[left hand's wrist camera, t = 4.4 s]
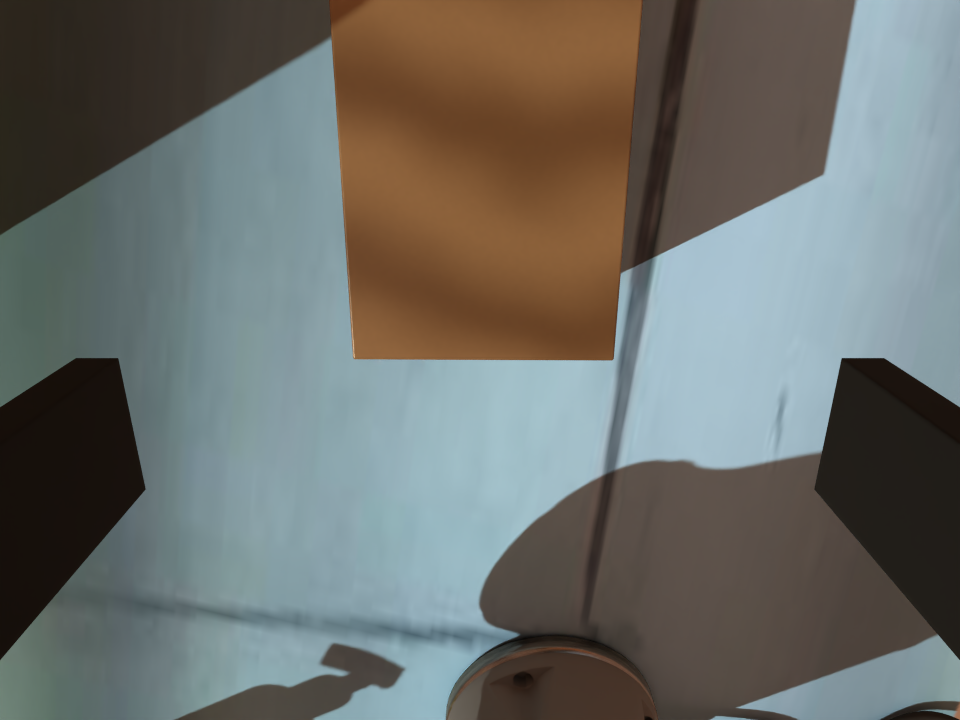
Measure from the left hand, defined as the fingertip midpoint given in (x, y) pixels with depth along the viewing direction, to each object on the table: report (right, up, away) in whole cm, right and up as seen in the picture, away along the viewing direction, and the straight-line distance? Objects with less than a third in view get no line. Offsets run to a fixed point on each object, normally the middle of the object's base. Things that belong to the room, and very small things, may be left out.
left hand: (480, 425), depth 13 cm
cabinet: (0, +14, +22) cm, 26 cm away
